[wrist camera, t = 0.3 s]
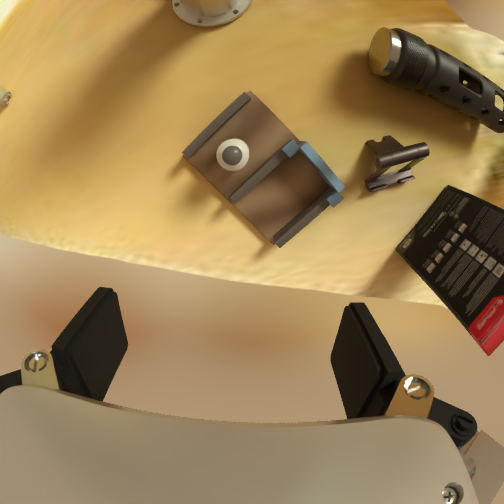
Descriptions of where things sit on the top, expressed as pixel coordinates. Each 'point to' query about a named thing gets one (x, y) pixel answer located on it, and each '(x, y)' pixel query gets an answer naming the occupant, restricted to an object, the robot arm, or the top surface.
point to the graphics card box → (463, 261)
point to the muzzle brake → (435, 75)
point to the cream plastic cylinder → (233, 154)
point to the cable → (4, 96)
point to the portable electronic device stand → (394, 162)
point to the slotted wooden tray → (266, 170)
